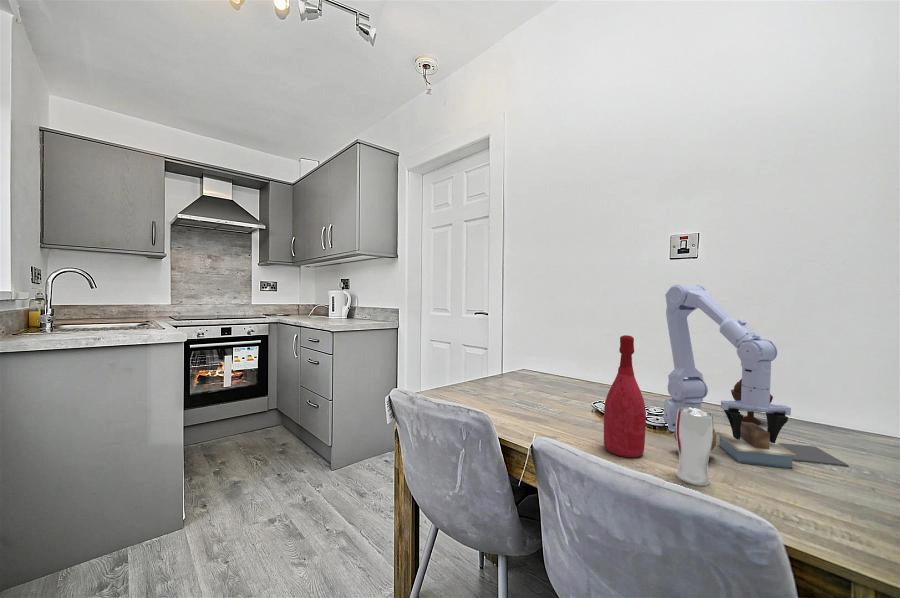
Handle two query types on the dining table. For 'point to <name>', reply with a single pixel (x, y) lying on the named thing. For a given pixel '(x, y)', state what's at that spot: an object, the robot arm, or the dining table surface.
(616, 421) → the wine bottle
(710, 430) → the beer glass
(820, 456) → the mat
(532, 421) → the dining table surface
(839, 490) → the dining table surface
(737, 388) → the ice cream bowl
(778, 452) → the lid
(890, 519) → the dining table surface
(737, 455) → the dish
